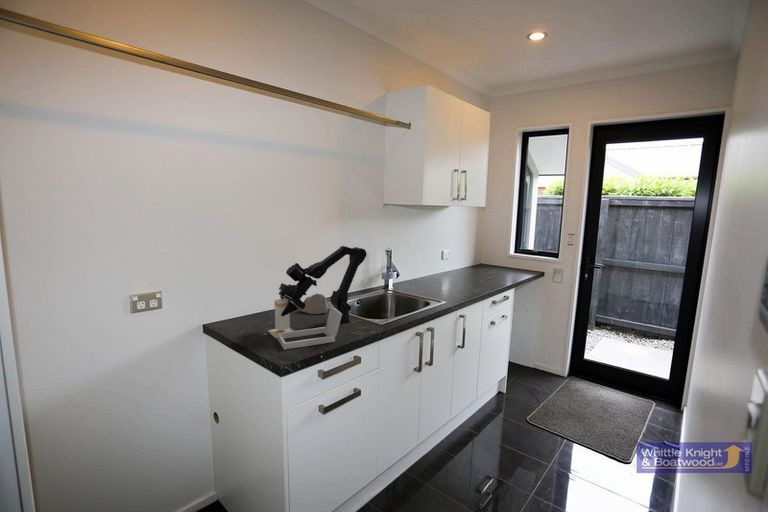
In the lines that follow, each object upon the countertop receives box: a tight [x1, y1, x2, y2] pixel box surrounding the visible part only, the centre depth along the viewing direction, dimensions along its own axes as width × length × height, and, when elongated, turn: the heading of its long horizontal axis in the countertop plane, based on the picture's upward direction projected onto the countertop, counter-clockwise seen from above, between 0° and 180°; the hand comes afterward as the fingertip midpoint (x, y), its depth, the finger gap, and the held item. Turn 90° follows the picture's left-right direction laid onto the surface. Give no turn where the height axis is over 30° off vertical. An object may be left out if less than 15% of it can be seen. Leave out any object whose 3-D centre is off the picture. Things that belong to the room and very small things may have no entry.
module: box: [274, 298, 291, 331], centre depth 167 cm, size 5×5×13 cm
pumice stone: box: [300, 293, 329, 315], centre depth 201 cm, size 15×8×10 cm, turn 75°
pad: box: [267, 327, 295, 339], centre depth 169 cm, size 10×10×1 cm
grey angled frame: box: [276, 305, 342, 350], centre depth 161 cm, size 25×13×12 cm, turn 117°
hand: (279, 314), depth 167 cm, fingers closed on module, 5 cm apart
